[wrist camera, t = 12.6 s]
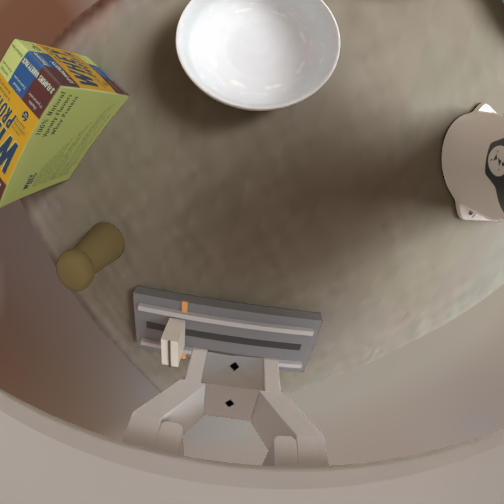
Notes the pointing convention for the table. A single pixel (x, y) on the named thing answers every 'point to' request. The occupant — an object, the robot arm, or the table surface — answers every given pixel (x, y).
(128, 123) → the table surface
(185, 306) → the pair of orange ticks
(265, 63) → the cereal bowl
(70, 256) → the cork
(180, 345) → the fader tab
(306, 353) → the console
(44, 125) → the protein box
